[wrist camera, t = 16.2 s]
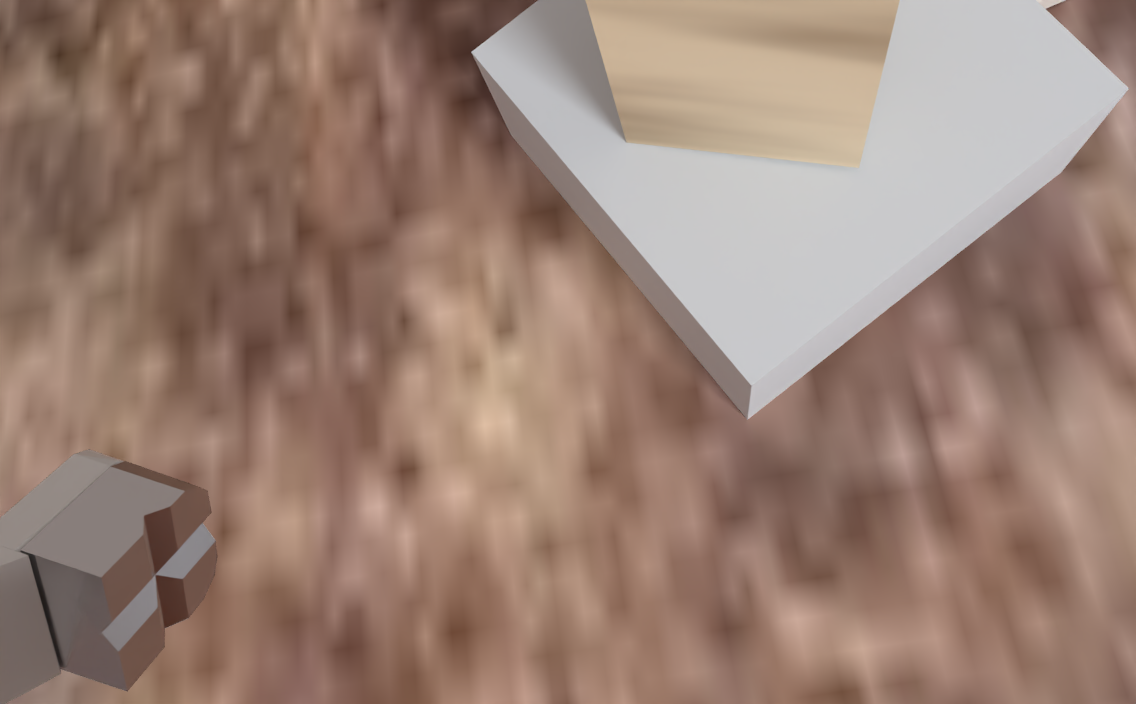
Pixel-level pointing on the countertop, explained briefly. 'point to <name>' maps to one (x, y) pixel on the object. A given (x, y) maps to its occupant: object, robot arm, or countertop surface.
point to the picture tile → (1049, 2)
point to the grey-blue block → (806, 178)
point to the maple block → (746, 73)
